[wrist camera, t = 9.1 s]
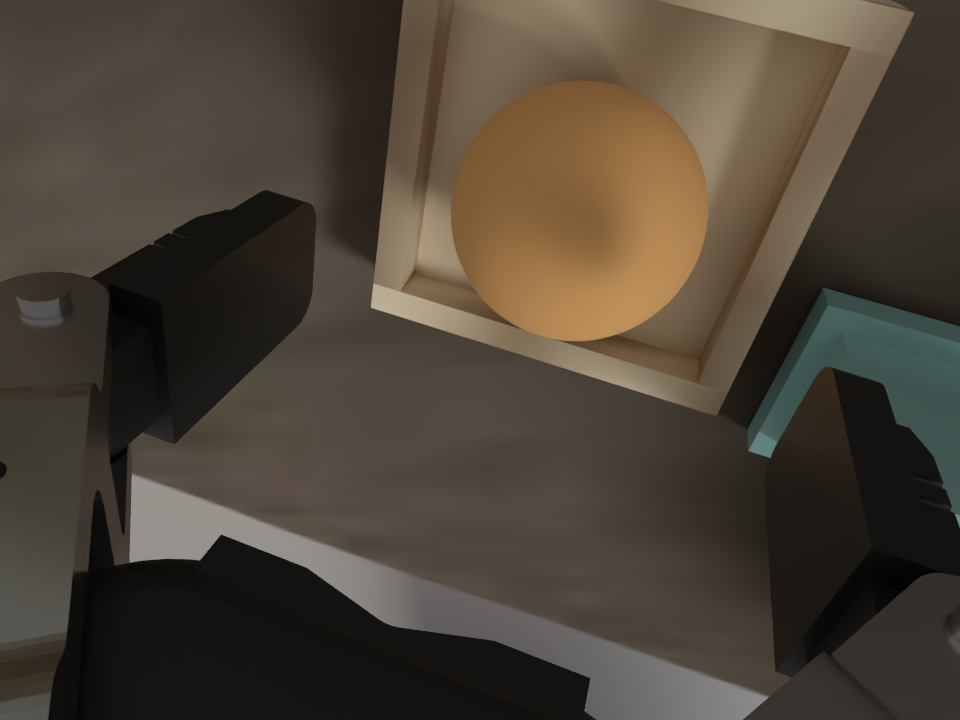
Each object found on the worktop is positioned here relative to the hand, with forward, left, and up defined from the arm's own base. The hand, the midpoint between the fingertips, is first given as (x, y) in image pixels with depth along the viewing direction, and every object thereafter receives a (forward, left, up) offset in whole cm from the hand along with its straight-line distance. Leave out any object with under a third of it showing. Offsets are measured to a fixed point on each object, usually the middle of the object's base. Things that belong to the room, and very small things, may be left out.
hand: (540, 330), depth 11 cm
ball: (0, 0, -5) cm, 5 cm away
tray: (0, 0, -9) cm, 9 cm away
